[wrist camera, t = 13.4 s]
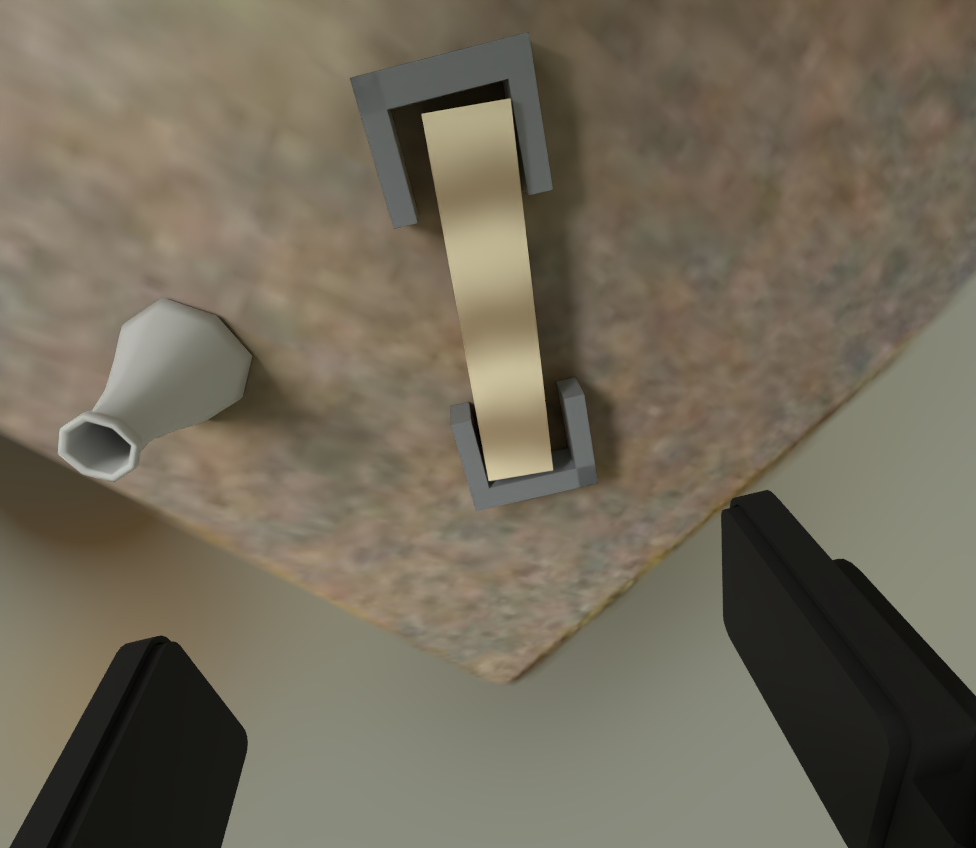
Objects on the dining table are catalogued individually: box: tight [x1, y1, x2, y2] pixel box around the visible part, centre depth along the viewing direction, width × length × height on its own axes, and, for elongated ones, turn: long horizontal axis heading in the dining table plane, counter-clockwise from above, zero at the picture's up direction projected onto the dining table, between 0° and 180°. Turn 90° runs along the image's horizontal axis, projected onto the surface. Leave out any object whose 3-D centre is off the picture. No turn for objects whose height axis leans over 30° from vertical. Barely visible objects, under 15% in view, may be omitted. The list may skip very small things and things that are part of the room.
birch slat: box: [421, 98, 553, 481], centre depth 32 cm, size 20×4×4 cm, turn 9°
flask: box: [58, 297, 252, 482], centre depth 29 cm, size 7×7×10 cm
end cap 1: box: [350, 32, 553, 229], centre depth 27 cm, size 6×8×2 cm
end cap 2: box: [450, 377, 598, 511], centre depth 36 cm, size 6×8×2 cm
